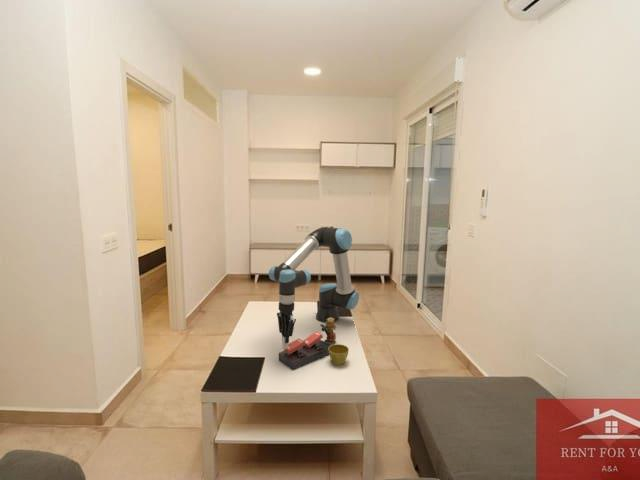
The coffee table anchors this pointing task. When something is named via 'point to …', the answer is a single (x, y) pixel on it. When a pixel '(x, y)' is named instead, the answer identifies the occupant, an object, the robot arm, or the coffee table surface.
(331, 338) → the figurine
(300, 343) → the plate
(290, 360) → the power strip
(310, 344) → the rocker
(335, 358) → the flower pot
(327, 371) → the coffee table surface
